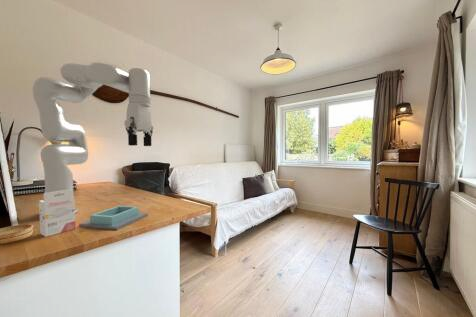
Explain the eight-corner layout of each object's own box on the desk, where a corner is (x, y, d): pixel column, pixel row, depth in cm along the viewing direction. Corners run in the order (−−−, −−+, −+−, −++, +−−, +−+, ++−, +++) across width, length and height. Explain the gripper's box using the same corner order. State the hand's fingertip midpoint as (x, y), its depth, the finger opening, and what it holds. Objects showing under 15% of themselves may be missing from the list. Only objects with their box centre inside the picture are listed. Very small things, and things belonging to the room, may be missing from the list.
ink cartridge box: (70, 226, 77) (68, 187, 77) (75, 229, 75) (74, 188, 74) (39, 234, 70) (37, 191, 70) (44, 237, 67) (42, 193, 67)
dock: (79, 226, 77) (78, 215, 77) (115, 213, 94) (115, 204, 94) (116, 230, 73) (116, 219, 73) (147, 215, 90) (147, 206, 90)
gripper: (143, 107, 89) (144, 146, 90) (115, 96, 72) (116, 145, 73) (159, 106, 88) (160, 146, 89) (135, 95, 71) (136, 145, 72)
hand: (140, 145), depth 81 cm, fingers open, 9 cm apart
